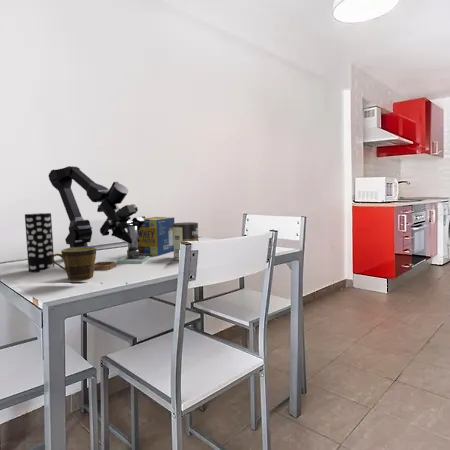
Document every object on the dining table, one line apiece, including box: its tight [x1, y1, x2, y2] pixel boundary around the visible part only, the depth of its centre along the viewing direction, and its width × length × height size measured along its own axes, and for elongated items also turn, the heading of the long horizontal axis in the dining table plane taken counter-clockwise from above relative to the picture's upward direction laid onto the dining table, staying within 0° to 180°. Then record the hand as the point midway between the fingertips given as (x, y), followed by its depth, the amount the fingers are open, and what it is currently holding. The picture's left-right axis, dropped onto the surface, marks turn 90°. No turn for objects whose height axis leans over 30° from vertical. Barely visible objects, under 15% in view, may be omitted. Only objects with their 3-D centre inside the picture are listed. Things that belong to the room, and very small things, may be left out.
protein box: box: [137, 216, 175, 257], centre depth 166 cm, size 10×15×16 cm
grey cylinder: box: [126, 226, 140, 260], centre depth 141 cm, size 4×4×12 cm
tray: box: [116, 255, 150, 264], centre depth 142 cm, size 10×10×2 cm
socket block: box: [94, 261, 117, 271], centre depth 129 cm, size 7×7×2 cm
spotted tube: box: [24, 212, 55, 273], centre depth 133 cm, size 8×8×20 cm
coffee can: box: [172, 221, 199, 261], centre depth 150 cm, size 10×10×14 cm
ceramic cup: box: [52, 246, 97, 285], centre depth 113 cm, size 13×10×10 cm
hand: (135, 242), depth 140 cm, fingers closed on grey cylinder, 4 cm apart
